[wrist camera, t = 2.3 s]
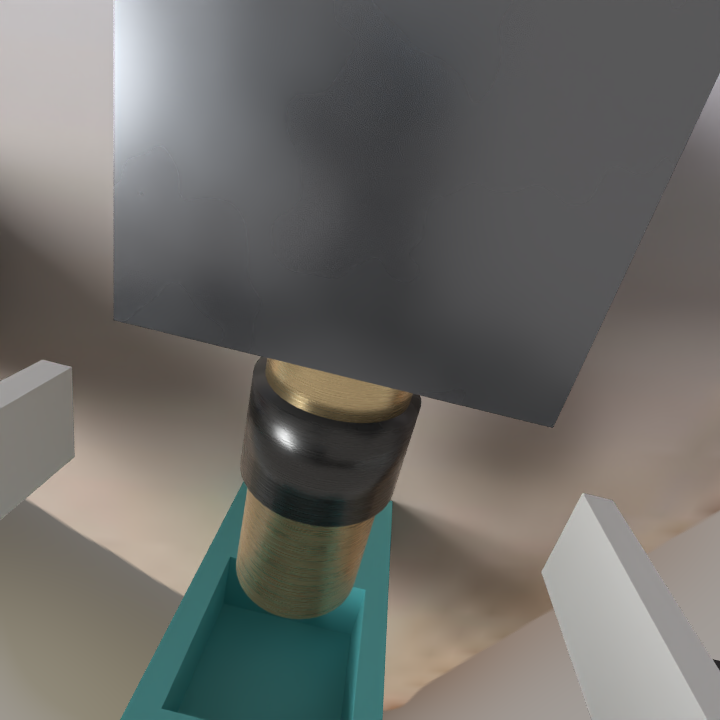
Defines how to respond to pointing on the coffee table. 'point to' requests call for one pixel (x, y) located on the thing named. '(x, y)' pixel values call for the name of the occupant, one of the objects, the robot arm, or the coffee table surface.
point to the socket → (269, 646)
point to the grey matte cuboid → (399, 179)
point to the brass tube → (315, 482)
